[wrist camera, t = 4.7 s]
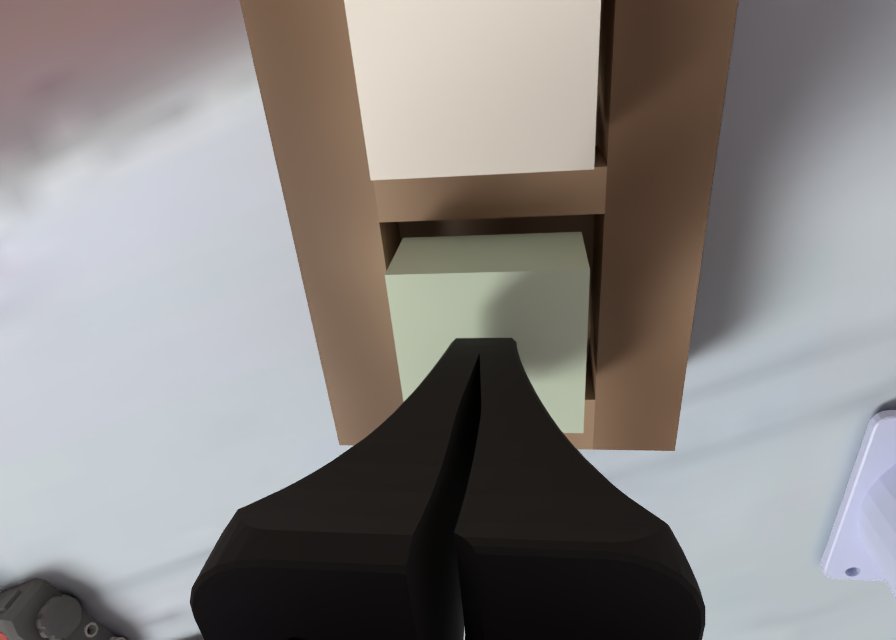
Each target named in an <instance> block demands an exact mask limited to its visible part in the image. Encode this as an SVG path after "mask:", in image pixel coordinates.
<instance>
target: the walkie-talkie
mask: <svg viewBox="0 0 896 640" xmlns="http://www.w3.org/2000/svg"><path fill="white" fill-rule="evenodd" d="M0 640H126V639H125V638H123V637H116V636H115V635H114V634H112V633H111V632H110V631H109V630H107V629H106V628H105V627H104V626H102V625H101V624H100V623H99V622H97V621H96V620H95V619H94V618H92V617H91V616H90V615H89V614H87V613H86V612H85V611H83V610H82V608H81V606H80V604H79V601H78V600H77V599H76V598H74V597H71V596H70V595H64V594H62V593H61V592H60V591H58V590H57V589H56V588H54V587H53V586H52V585H51V584H49V583H48V582H47V581H46V580H41V579H34V580H31V581H29V582H26V583H24V584H21V585H19V586H16V587H14V588H11V589H9V590H6V591H4V592H1V593H0Z"/></svg>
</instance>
